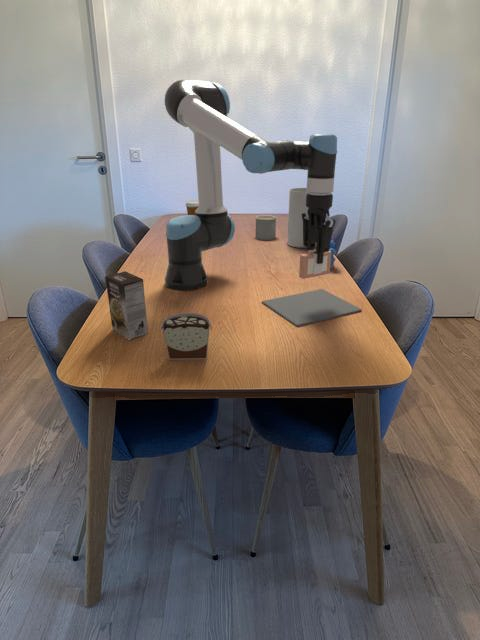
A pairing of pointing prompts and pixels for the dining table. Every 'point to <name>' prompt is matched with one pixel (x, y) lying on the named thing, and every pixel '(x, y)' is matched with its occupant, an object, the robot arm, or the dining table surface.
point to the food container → (186, 336)
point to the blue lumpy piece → (332, 252)
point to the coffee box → (127, 304)
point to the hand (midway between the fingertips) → (314, 271)
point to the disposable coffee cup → (192, 207)
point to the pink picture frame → (307, 265)
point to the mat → (310, 307)
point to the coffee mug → (265, 227)
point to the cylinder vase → (296, 216)
